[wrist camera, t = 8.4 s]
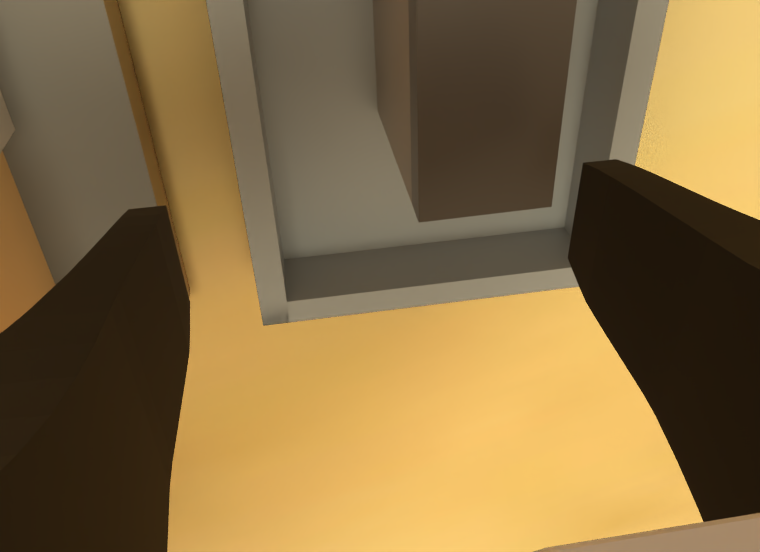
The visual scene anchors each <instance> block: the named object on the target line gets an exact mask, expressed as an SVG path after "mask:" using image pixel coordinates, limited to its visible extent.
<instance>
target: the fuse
mask: <svg viewBox="0 0 760 552" xmlns="http://www.w3.org/2000/svg"><path fill="white" fill-rule="evenodd" d="M54 286H55V283H54V280H53V277H52V275H51V272H50V270H49V267H48V265H47V262H46V260H45V257H44V255H43V252H42V250H41V247H40V245H39V242H38V240H37V237H36V234H35V232H34V229H33V227H32V224H31V222H30V219H29V217H28V214H27V212H26V209H25V207H24V204H23V202H22V199H21V197H20V194H19V191H18V189H17V186H16V184H15V181H14V179H13V176H12V174H11V171H10V169H9V166H8V164H7V161H6V159H5V156H4V154H3V151H2V152H1V153H0V333H1V332H3V331H4V330H5V329H7V328H8V327H9V326H10V325H11V324H13V323H14V322H15V321H16V320H18V319H19V318H20V317H21V316H22V315H24V314H25V313H26V312H27V311H28V310H29V309H30V308H32V307H33V306H34V305H35V304H36V303H37V302H38V301H39V300H40V299H41V298H42V297H43V296H44V295H45V294H46V293H48V292H49V291H50V290H51V289H52V288H53V287H54Z"/></svg>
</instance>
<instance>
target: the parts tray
mask: <svg viewBox="0 0 760 552" xmlns="http://www.w3.org/2000/svg"><path fill="white" fill-rule="evenodd" d="M668 3H669V0H577V5H576V13H575V21H574V29H573V37H572V45H571V53H570V61H569V70H568V78H567V86H566V94H565V102H564V110H563V118H562V126H561V135H560V143H559V151H558V159H557V167H556V175H555V183H554V191H553V199H552V207H546V208H537V209H529V210H521V211H512V212H504V213H496V214H487V215H479V216H470V217H462V218H454V219H445V220H437V221H429V222H420V223H419V222H418V219H417V217H416V214H415V211H414V208H413V206H412V203H411V200H410V198H409V195H408V192H407V189H406V187H405V184H404V181H403V179H402V176H401V173H400V170H399V168H398V165H397V162H396V160H395V157H394V154H393V151H392V149H391V146H390V143H389V141H388V138H387V135H386V132H385V130H384V127H383V124H382V122H381V119H380V116H379V113H378V106H377V85H376V63H375V42H374V21H373V0H206V4H207V9H208V15H209V21H210V26H211V32H212V38H213V43H214V49H215V55H216V60H217V66H218V72H219V77H220V83H221V89H222V94H223V100H224V106H225V111H226V117H227V123H228V128H229V134H230V140H231V145H232V151H233V156H234V162H235V168H236V173H237V179H238V185H239V190H240V196H241V202H242V207H243V213H244V219H245V224H246V230H247V236H248V241H249V247H250V253H251V258H252V264H253V270H254V275H255V281H256V287H257V292H258V298H259V304H260V309H261V315H262V320H263V326H264V325H272V324H281V323H289V322H297V321H305V320H313V319H321V318H329V317H337V316H345V315H353V314H361V313H369V312H377V311H385V310H394V309H402V308H410V307H418V306H426V305H434V304H442V303H450V302H458V301H466V300H474V299H482V298H490V297H498V296H507V295H515V294H523V293H531V292H539V291H547V290H555V289H563V288H571V287H579V285H578V283H577V280H576V278H575V275H574V273H573V270H572V268H571V265H570V263H569V260H568V252H569V246H570V240H571V233H572V227H573V221H574V215H575V209H576V202H577V196H578V190H579V184H580V177H581V171H582V165H583V163H584V162H594V161H604V160H613V159H617V160H620V161H623V162H626V163H629V164H632V165H634V166H635V161H636V157H637V152H638V147H639V142H640V137H641V132H642V128H643V123H644V118H645V113H646V108H647V104H648V99H649V94H650V89H651V84H652V80H653V75H654V70H655V65H656V60H657V56H658V51H659V46H660V41H661V36H662V32H663V27H664V22H665V17H666V12H667V7H668Z"/></svg>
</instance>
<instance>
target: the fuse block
mask: <svg viewBox="0 0 760 552" xmlns="http://www.w3.org/2000/svg"><path fill="white" fill-rule="evenodd" d="M2 151H3V154H4V156H5V159H6V161H7V164H8V166H9V169H10V171H11V174H12V176H13V179H14V181H15V184H16V186H17V189H18V191H19V194H20V197H21V199H22V202H23V204H24V207H25V209H26V212H27V214H28V217H29V219H30V222H31V224H32V227H33V229H34V232H35V234H36V237H37V240H38V242H39V245H40V247H41V250H42V252H43V255H44V257H45V260H46V262H47V265H48V267H49V270H50V272H51V275H52V277H53V280H54V283H55V285H56V284H57V283H58V282H59V281H60V280H61V279H62V278H64V277H65V276H66V275H67V274H68V273H69V272H70V271H71V270H72V269H73V268H74V267H75V265H76V264H77V263H78V262H79V261H80V260H81V259H82V258H83V257H84V256H85V255H86V254H87V253H88V252H89V251H90V250H91V249H92V248H93V247H94V245H95V244H96V243H97V242H98V241H99V240H100V239H101V238H102V237H103V236H104V235H105V233H106V232H107V231H108V230H109V229H110V228H111V227H112V226H113V225H114V224H115V222H116V221H117V220H118V219H119V218H120V217H121V216H122V215H123V214H124V213H125V212H126V211H127V210H128V209H135V208H145V207H155V206H164V205H166V207H167V211H168V215H169V219H170V223H171V227H172V231H173V235H174V239H175V244H176V248H177V252H178V256H179V260H180V264H181V268H182V272H183V276H184V280H185V284H186V288H187V292H188V296H189V294H190V289H189V285H188V281H187V277H186V274H185V270H184V266H183V262H182V258H181V254H180V250H179V246H178V242H177V238H176V234H175V230H174V226H173V222H172V218H171V214H170V210H169V206H168V202H167V198H166V194H165V190H164V186H163V182H162V178H161V174H160V170H159V166H158V162H157V158H156V154H155V150H154V146H153V142H152V138H151V134H150V130H149V126H148V122H147V118H146V114H145V110H144V106H143V102H142V98H141V94H140V90H139V86H138V82H137V78H136V74H135V70H134V66H133V62H132V58H131V54H130V50H129V46H128V42H127V38H126V34H125V30H124V26H123V22H122V18H121V14H120V10H119V6H118V2H117V0H0V153H1V152H2Z"/></svg>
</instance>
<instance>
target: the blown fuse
mask: <svg viewBox="0 0 760 552" xmlns="http://www.w3.org/2000/svg"><path fill="white" fill-rule="evenodd" d="M576 5H577V0H373V21H374V42H375V63H376V85H377V106H378V113H379V116H380V119H381V122H382V124H383V127H384V130H385V132H386V135H387V138H388V141H389V143H390V146H391V149H392V151H393V154H394V157H395V160H396V162H397V165H398V168H399V170H400V173H401V176H402V179H403V181H404V184H405V187H406V189H407V192H408V195H409V198H410V200H411V203H412V206H413V208H414V211H415V214H416V217H417V219H418V222H419V223H420V222H429V221H437V220H445V219H454V218H462V217H470V216H479V215H487V214H496V213H504V212H512V211H521V210H529V209H537V208H546V207H552V199H553V191H554V183H555V175H556V167H557V159H558V151H559V143H560V135H561V126H562V118H563V110H564V102H565V94H566V86H567V78H568V70H569V61H570V53H571V45H572V37H573V29H574V21H575V13H576Z"/></svg>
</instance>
